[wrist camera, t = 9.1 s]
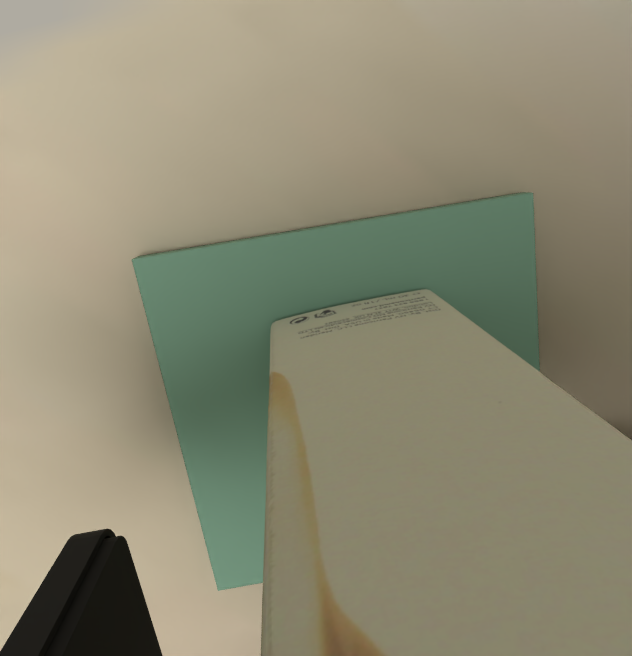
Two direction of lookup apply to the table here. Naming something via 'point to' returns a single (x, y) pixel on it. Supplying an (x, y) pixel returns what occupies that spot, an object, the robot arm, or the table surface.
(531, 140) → the table surface
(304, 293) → the coaster
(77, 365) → the table surface
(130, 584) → the robot arm
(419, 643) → the skincare box
